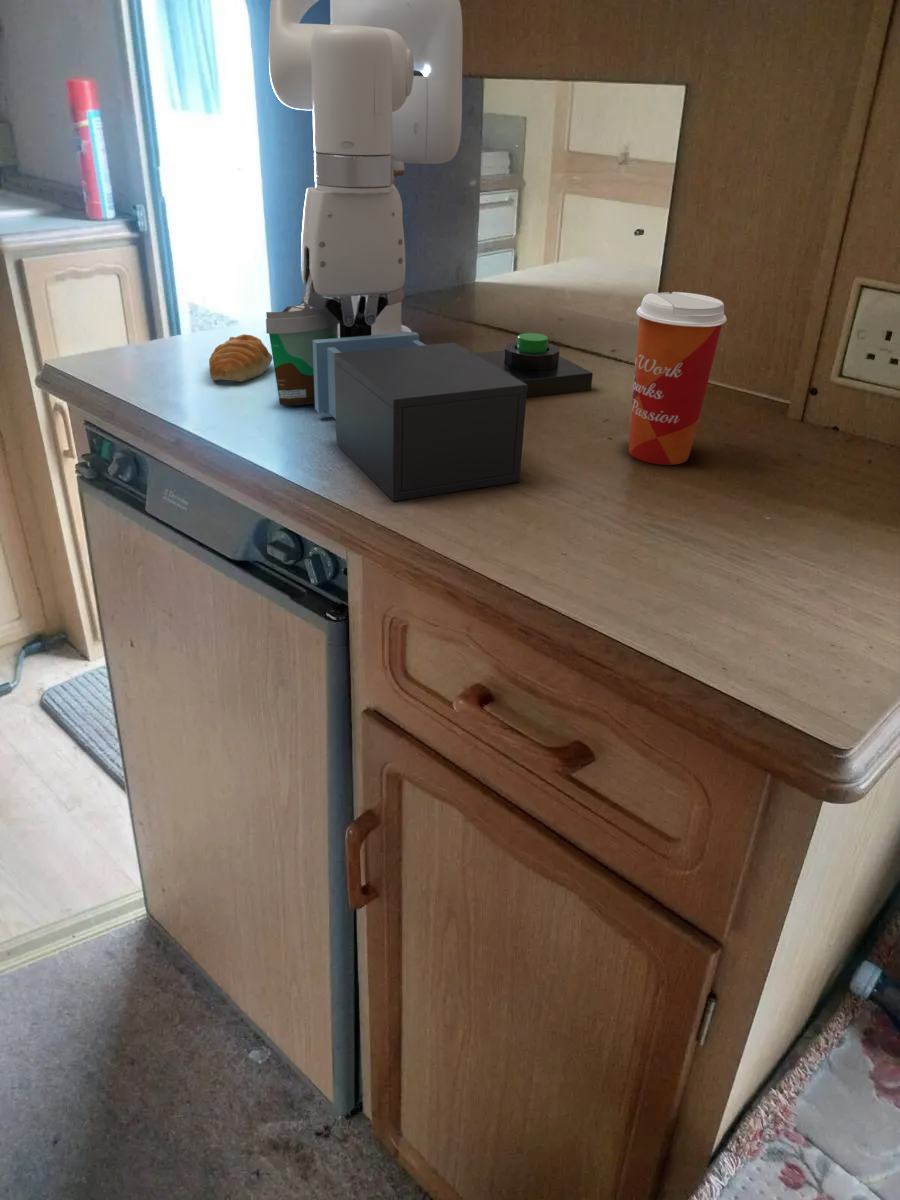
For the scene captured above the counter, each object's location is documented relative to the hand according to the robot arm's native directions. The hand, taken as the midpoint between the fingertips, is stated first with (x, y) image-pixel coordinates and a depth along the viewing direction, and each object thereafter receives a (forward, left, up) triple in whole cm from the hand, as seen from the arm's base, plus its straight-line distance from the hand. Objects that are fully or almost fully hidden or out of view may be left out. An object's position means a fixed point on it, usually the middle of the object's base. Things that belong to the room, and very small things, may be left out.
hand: (356, 360), depth 98 cm
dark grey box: (+18, 0, -5) cm, 19 cm away
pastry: (-16, -9, -5) cm, 19 cm away
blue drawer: (+6, 0, -4) cm, 8 cm away
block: (-2, +23, -5) cm, 24 cm away
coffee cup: (+24, +23, -5) cm, 34 cm away
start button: (-2, +23, -1) cm, 23 cm away
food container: (-4, -3, -5) cm, 7 cm away
